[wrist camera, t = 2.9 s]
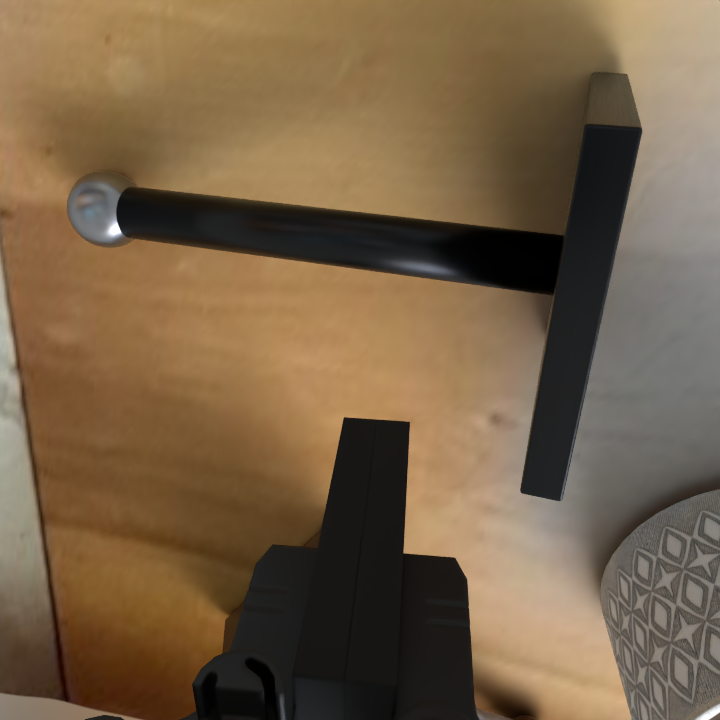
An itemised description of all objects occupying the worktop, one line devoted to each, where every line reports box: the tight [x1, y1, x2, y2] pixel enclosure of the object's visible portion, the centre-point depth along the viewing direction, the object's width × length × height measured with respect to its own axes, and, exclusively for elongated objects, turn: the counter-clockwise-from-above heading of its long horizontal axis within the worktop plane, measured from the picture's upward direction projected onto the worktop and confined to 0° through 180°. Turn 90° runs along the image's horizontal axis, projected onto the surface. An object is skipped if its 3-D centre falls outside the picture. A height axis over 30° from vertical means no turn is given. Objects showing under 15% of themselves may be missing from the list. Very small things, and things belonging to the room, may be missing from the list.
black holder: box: [67, 72, 642, 501], centre depth 27 cm, size 25×13×13 cm, turn 89°
